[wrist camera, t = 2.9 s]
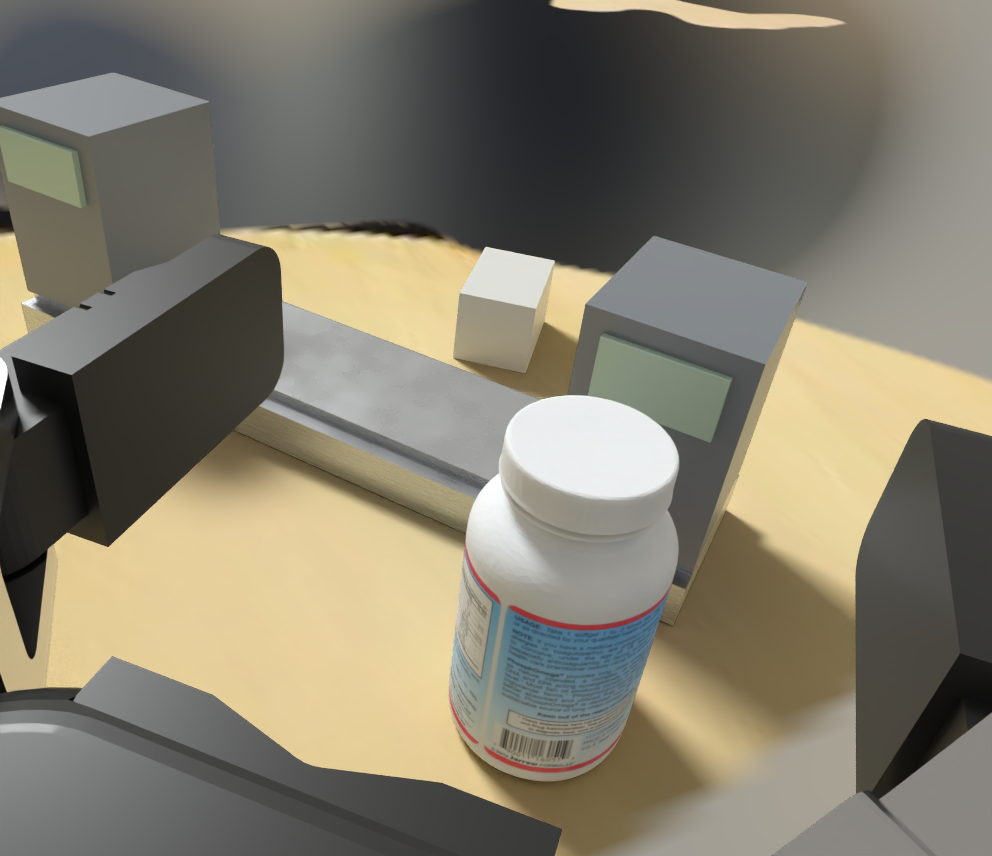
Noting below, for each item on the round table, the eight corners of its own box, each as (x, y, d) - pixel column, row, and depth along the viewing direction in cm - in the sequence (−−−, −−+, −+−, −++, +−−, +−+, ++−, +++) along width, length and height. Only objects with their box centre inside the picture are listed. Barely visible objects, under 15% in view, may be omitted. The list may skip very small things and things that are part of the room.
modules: (690, 576, 32) (763, 368, 26) (22, 292, 42) (-22, 102, 37) (739, 471, 37) (807, 282, 32) (137, 243, 47) (113, 72, 42)
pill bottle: (654, 695, 30) (746, 440, 24) (563, 827, 26) (643, 560, 19) (512, 608, 33) (558, 355, 26) (407, 715, 28) (431, 445, 22)
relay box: (525, 374, 46) (536, 308, 44) (453, 359, 47) (459, 292, 44) (544, 322, 51) (554, 260, 49) (478, 309, 51) (485, 246, 49)
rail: (672, 626, 33) (688, 580, 31) (29, 338, 43) (18, 294, 42) (726, 509, 39) (742, 465, 37) (149, 281, 49) (144, 240, 48)
